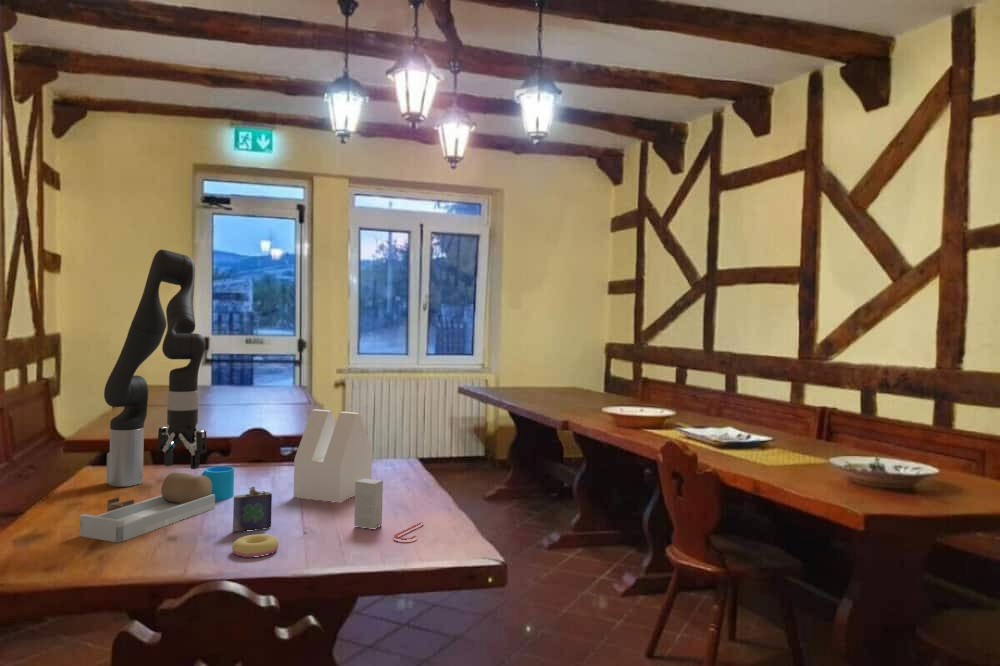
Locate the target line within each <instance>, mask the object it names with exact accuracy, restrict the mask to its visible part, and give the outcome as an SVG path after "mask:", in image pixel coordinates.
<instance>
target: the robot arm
mask: <svg viewBox="0 0 1000 666" xmlns="http://www.w3.org/2000/svg"><path fill="white" fill-rule="evenodd" d="M195 276H196V266H195V261H194V260H193V258H192V257H191V256H188V255H185V254H182V253H178V252H175V251H171V250H167V249H159V250H157V252H156V253H155V255H154V256H153V259H152V261H151V264H150V268H149V271H148V275H147V278H146V282H145V286H144V288H143V293H142V296H141V298H140V300H139V303H138V307H137V309H136V311H135V314H134V316H133V318H132V321H131V324H130V326H129V328H128V331H127V332H128V333H127V335H126V339H125V341H124V344H123V346H122V348H121V351H120V354H119V356H118V358H117V360H116V363H115V365H114V366H113V369H112V370H111V373H110V374H109V376H108V378H107V380H106V383H105V387H104V392H103V397H104V401H105V403H106V404H107V405H108V406H110V407H113V408H122V407H123V410H122V411H121V412H120V413H119V414H118V415H116V416H114V417H112V419H111V420H110V422H109V452H107V453H106V484H107V485H109V486H111V487H117V488H118V487H125V488H126V487H131V486H132V487H133V485H134V486H138V485H140V484H143V482H144V448H145V447H144V444H145V443H144V440H145V438H144V437H145V435H144V434H145V421H146V418H147V415H148V401H149V386H148V383H147V380H146V379H145V377H143V376H141V375H135V374H136V371H137V370H138V368H139V367H141V365H142V364H143V363H144V362H145V361H146V360H147V359H148V358H149V357H150V356H151V355H152V354H153V353H154V352H155V351H156V350H157V349H158V348H159V346H160V344H161V343H162V345H161V346H162V353H163V355H164V357H165V358H167V359H169V360H189V362H188V364H187V365H185V366H183V367H178V368H173V369H171V370H170V371H169V375H168V396H167V410H166V411H167V412H166V413H167V414H166V415H167V417H166V418H167V419H166V424H167V426H161V427H159V428H158V433H157V446H156V447H157V450H161V451H162V452H163V464H164V467H171V466H173V464H174V451H173V450H174V449H175V447H176V446H179V445H180V446H183V447H185V449H186V450H188V451H189V453H190V454H191V455H190V470H196V469H197V470H198V468H199V467H200V463H201V462H200V461H201V454H203V453H206V452H207V451H208V446H207V444H208V443H207V442H208V441H207V430H205V429H202V430H197V428H196V427H197V424H198V422H199V420H198V419H199V395H198V380H199V379H198V378H199V377H198V376H199V369H200V366H201V362H202V360H203V357H204V354H205V351H206V346H207V344H206V339H205V338H204V336H203V335H202V334H199V333H194V331H195V330H196V319H195V312H194V295H195V294H194V293H195ZM161 283H166V284H167V283H168V284H171V285H176V286H180V289H179V291H178V292H176V294H175V295H174V296H173V297H171V299H170V300H169V301H168V303H167V306H166V310H165V312H164V309H163V307H162V303H161V300H160V287H161ZM165 313H166V314H165ZM165 331H166V333H165ZM164 334H165V336H164ZM163 337H164V338H163ZM162 339H163V342H161V341H162ZM137 484H138V485H137Z"/></svg>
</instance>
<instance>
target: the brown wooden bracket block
mask: <svg viewBox="0 0 1000 666" xmlns="http://www.w3.org/2000/svg"><path fill="white" fill-rule="evenodd" d="M106 504H107V505H106V506H107V507H106V509H107V510H106V513H107V512H109V511H112V510H115V509H119V508H122V507H125V506H128V505H132V504H135V500H134V499H128V500H126V501H121V500H120V497H118V496H116V497H113V498H110V499H107V503H106Z"/></svg>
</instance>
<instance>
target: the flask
mask: <svg viewBox="0 0 1000 666" xmlns="http://www.w3.org/2000/svg"><path fill="white" fill-rule="evenodd" d="M272 497H273V494H272V493H271V492H269V491H257V490H256V487H255V486H252V487H249V492H248V493H246V494H238V495H234V496H233V514H232V515H233V517H232V519H233V520H232V532H233V531H234V532H236V533H238V532H242V533H244V532H243V531H247V530H255V529H263V528H269V527H270V528H272V504H273V503H272V502H273V499H272ZM255 531H256V530H255ZM234 532H233V533H234Z"/></svg>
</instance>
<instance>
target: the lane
mask: <svg viewBox="0 0 1000 666" xmlns="http://www.w3.org/2000/svg"><path fill="white" fill-rule="evenodd" d="M201 475H202V474H200V475H199V474H192V473H185V472H178V471H177V472H176V471H174V472H171V473H169V474H168V475H166V477H165V478H164V480H163V482H162V484H161V491H160V492H161V495H158V496H154V497H151V498H148V499H145V500H142V501H138V502H134V504H132V505H128V506H125V507H122V508H119V509H115V510H112V511H109V512H107V511H106V512H105V513H104V512H103V513H102V514H101V513H100V514H98V515H92V514H88V513H87V514H86V513H83V514H80V515H79V537H82V538H88V539H94V540H100V541H106V542H111V543H118V544H119V543H123V542H125V540H126V541H128V540H131V539H133V538H136V537H139V536H141V535H145V534H147V533H150V532H153V531H156V530H159V529H160V528H161V527H162V528H164V527H166V525H167V526H170V525H172V523H173V524H175V523H178V522H181V521H184V520H186V519H188V517H189V518H191V516H192V517H195V516H197V515H200V514H202V513H205V512H209V511H211V510H214V509H215V508H216V501H215V494H211V492H212V483H211V480H210V479H209V478H208V477H207V476H201ZM194 515H195V516H194ZM113 518H116V519H113ZM183 519H184V520H183ZM180 520H181V521H180ZM169 524H170V525H169ZM163 526H164V527H163ZM158 528H159V529H158ZM162 528H161V529H162ZM155 529H156V530H155Z"/></svg>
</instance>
